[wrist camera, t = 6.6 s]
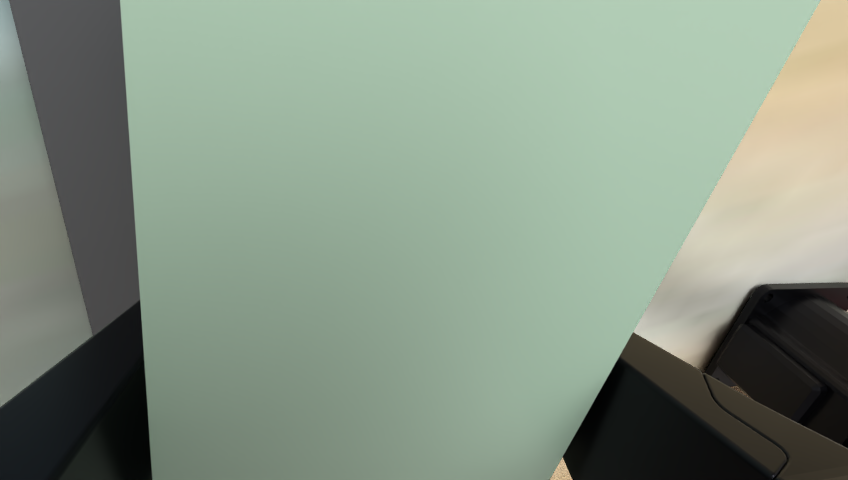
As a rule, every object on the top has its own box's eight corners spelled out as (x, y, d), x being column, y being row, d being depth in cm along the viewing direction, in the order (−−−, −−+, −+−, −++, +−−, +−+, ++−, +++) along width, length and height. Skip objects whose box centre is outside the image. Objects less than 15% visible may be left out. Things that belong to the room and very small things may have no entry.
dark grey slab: (638, -155, 12) (795, -199, 8) (484, 365, 21) (527, 456, 17) (-50, -356, 8) (-339, -612, 4) (121, 390, 17) (74, 516, 13)
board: (422, 469, 14) (463, 631, 11) (200, 487, 12) (166, 690, 9) (622, -92, 7) (887, -120, 4) (206, -244, 6) (85, -517, 2)
